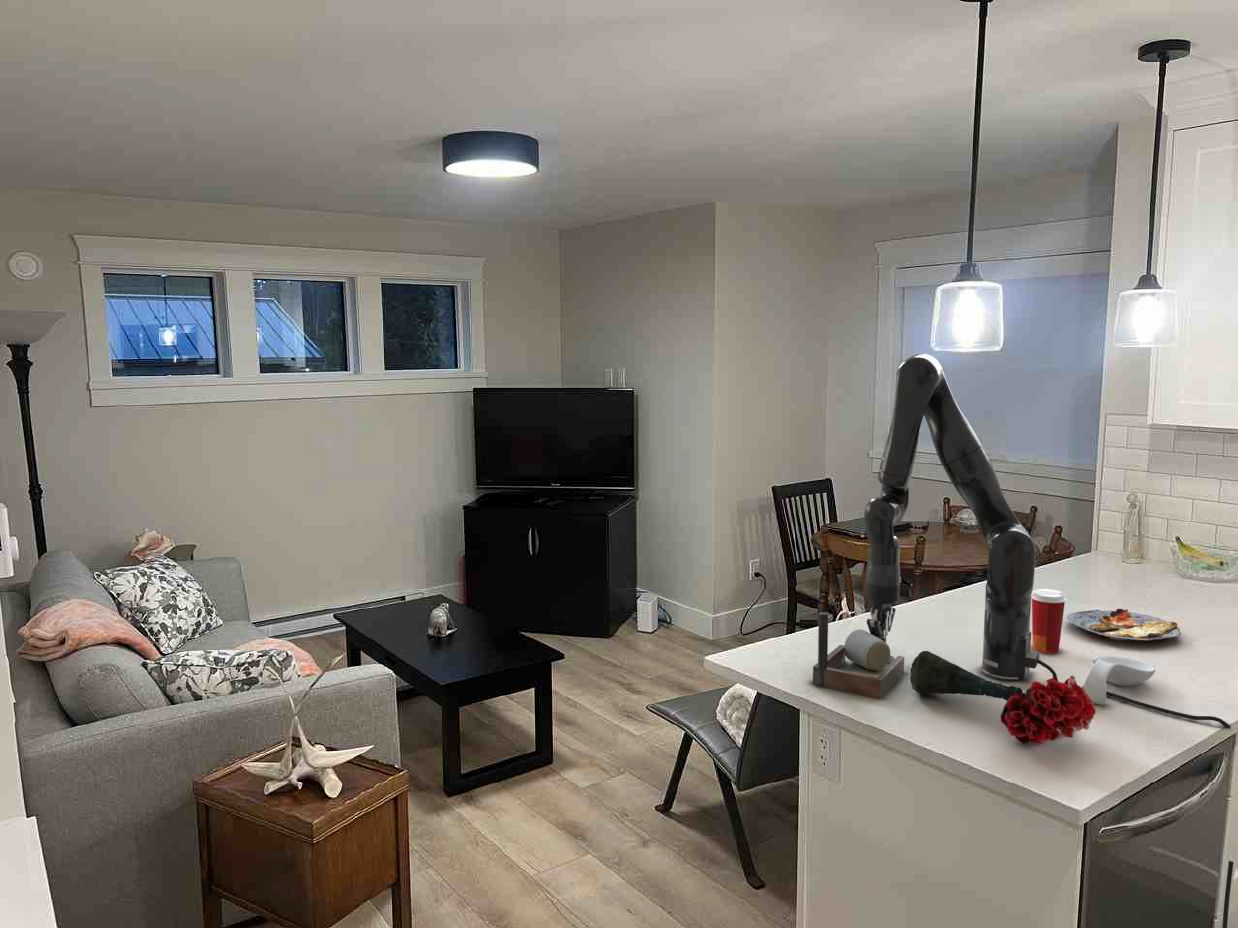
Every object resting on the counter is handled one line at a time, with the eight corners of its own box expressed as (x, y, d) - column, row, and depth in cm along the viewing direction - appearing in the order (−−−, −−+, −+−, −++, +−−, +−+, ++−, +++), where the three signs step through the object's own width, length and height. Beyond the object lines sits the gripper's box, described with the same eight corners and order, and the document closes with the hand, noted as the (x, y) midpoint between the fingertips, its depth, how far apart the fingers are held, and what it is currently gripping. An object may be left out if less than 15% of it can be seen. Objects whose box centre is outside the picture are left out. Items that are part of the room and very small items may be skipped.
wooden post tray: (903, 673, 200) (906, 604, 198) (879, 699, 186) (881, 624, 184) (839, 661, 208) (841, 594, 206) (812, 684, 195) (813, 613, 192)
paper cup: (1063, 646, 216) (1066, 590, 214) (1063, 657, 209) (1067, 598, 207) (1027, 642, 219) (1030, 586, 217) (1026, 652, 212) (1029, 595, 210)
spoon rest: (1102, 666, 203) (1104, 636, 202) (1161, 680, 194) (1163, 648, 193) (1063, 696, 186) (1065, 663, 185) (1126, 713, 178) (1128, 678, 177)
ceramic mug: (867, 675, 199) (869, 641, 198) (842, 663, 207) (843, 631, 206) (903, 667, 204) (904, 634, 203) (877, 656, 211) (878, 624, 210)
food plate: (1122, 613, 241) (1123, 600, 240) (1202, 640, 219) (1203, 626, 218) (1047, 623, 233) (1047, 610, 233) (1122, 652, 211) (1123, 638, 211)
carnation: (918, 729, 190) (1093, 780, 163) (879, 691, 179) (1058, 739, 153) (943, 662, 195) (1116, 701, 168) (906, 621, 185) (1084, 656, 158)
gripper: (888, 589, 201) (885, 663, 203) (908, 576, 211) (905, 646, 214) (856, 584, 205) (853, 656, 208) (877, 571, 215) (874, 640, 218)
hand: (880, 651), depth 211 cm, fingers closed
